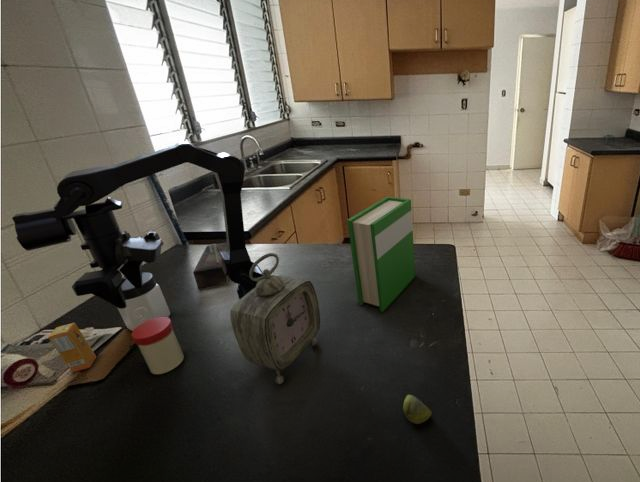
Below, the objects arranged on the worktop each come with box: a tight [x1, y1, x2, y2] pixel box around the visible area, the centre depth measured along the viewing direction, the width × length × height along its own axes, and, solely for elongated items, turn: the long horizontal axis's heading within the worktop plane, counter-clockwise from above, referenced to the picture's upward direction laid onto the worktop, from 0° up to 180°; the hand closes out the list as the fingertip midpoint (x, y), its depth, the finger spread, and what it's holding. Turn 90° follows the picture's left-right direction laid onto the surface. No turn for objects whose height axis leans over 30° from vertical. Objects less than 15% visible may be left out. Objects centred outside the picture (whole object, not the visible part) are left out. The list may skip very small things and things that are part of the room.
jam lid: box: [131, 317, 174, 346], centre depth 68 cm, size 6×6×2 cm
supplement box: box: [47, 322, 97, 373], centre depth 70 cm, size 3×3×10 cm
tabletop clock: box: [230, 252, 321, 385], centre depth 66 cm, size 14×9×25 cm, turn 160°
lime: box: [402, 394, 433, 425], centre depth 56 cm, size 4×5×5 cm
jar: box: [116, 272, 171, 332], centre depth 82 cm, size 9×8×12 cm
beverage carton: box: [193, 241, 230, 291], centre depth 104 cm, size 8×19×7 cm, turn 21°
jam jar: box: [137, 328, 185, 375], centre depth 70 cm, size 6×6×9 cm
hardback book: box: [346, 195, 416, 313], centre depth 88 cm, size 18×7×24 cm, turn 153°
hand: (131, 297), depth 74 cm, fingers open, 7 cm apart
